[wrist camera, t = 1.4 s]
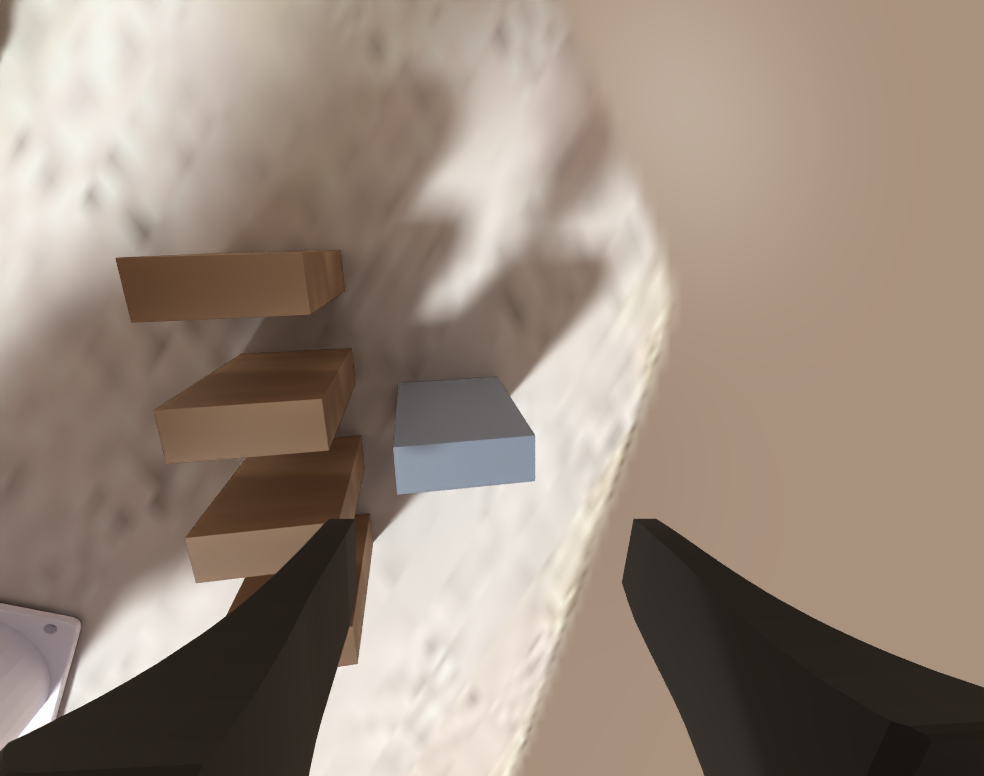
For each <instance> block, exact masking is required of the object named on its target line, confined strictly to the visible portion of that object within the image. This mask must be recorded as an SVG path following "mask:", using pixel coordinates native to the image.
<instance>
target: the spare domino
mask: <svg viewBox="0 0 984 776" xmlns="http://www.w3.org/2000/svg"><path fill="white" fill-rule="evenodd" d="M393 454H394V465H395V476H396V487H397V495H400V494H410V493H420V492H430V491H440V490H450V489H460V488H470V487H480V486H490V485H501V484H511V483H521V482H531V481H535V434H534V433H533V431H532V430H531V428H530V427H529V425H528V424H527V422H526V420H525V419H524V417H523V416H522V414H521V413H520V411H519V410H518V408H517V407H516V405H515V403H514V402H513V400H512V399H511V397H510V396H509V394H508V393H507V391H506V389H505V388H504V386H503V385H502V383H501V382H500V380H499V379H498V377H484V378H469V379H454V380H439V381H423V382H408V383H399V386H398V397H397V408H396V419H395V430H394V441H393Z"/></svg>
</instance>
